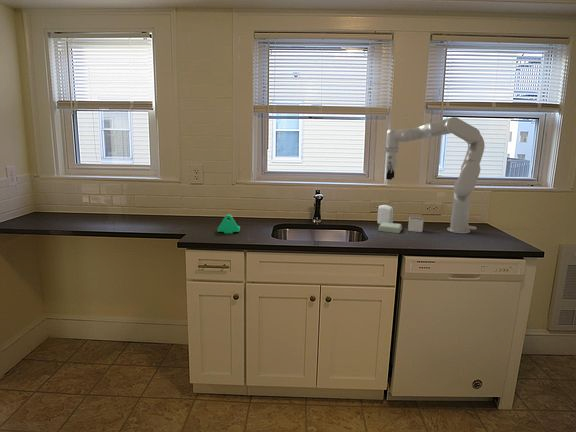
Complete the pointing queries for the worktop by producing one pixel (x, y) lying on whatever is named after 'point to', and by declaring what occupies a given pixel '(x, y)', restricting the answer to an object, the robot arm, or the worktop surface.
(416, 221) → the housing
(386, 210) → the photo printer
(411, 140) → the robot arm
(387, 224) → the stand
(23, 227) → the worktop surface
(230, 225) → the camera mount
